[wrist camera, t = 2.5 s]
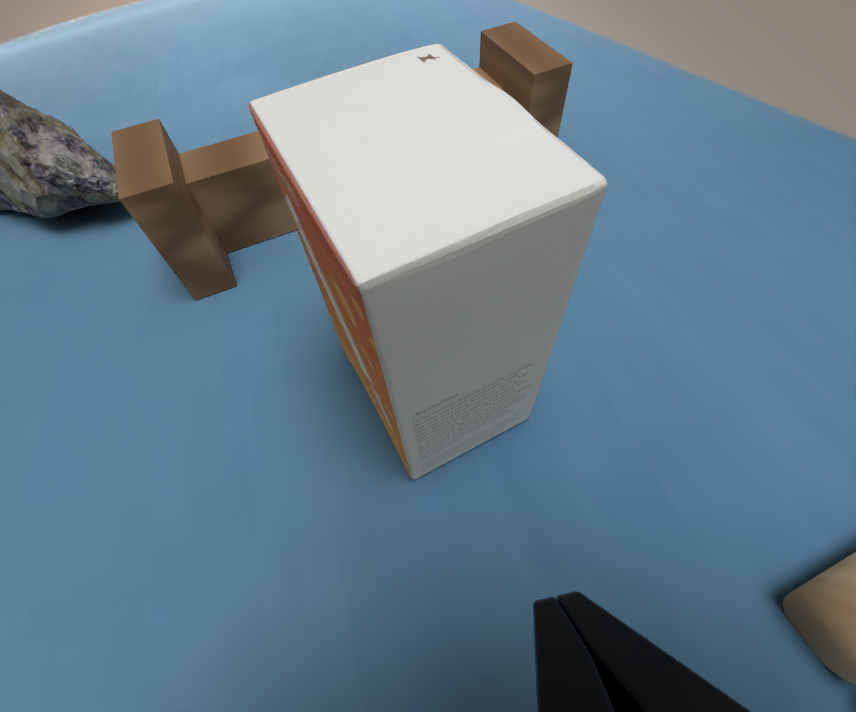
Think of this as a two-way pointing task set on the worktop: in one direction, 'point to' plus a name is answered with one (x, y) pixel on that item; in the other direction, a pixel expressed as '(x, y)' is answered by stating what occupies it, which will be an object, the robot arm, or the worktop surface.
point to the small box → (433, 239)
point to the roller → (828, 616)
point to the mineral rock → (48, 164)
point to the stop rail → (256, 180)
